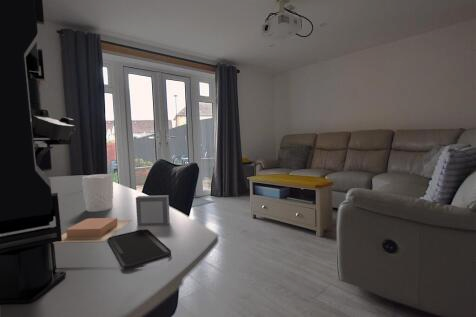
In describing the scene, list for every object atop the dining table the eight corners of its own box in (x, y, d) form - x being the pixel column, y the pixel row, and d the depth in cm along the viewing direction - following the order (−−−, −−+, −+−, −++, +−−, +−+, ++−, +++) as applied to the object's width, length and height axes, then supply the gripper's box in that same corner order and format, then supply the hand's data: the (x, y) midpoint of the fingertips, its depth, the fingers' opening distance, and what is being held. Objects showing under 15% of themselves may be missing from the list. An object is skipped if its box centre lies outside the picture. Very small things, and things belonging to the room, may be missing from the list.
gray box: (167, 226, 57) (166, 196, 56) (137, 227, 57) (135, 197, 56) (169, 224, 58) (168, 195, 58) (140, 225, 58) (138, 196, 58)
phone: (146, 228, 54) (173, 252, 42) (146, 233, 54) (173, 258, 42) (105, 237, 49) (122, 267, 37) (106, 243, 49) (123, 275, 37)
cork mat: (103, 243, 48) (103, 241, 48) (47, 244, 48) (47, 242, 48) (132, 221, 61) (132, 219, 61) (87, 222, 61) (87, 220, 61)
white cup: (120, 206, 76) (118, 173, 75) (103, 213, 68) (101, 177, 67) (96, 206, 77) (94, 174, 76) (77, 213, 69) (74, 178, 68)
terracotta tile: (117, 224, 58) (100, 236, 51) (87, 225, 58) (66, 237, 51) (117, 217, 57) (100, 228, 51) (87, 218, 58) (66, 229, 51)
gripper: (21, 94, 40) (30, 189, 41) (90, 109, 59) (95, 174, 60) (-46, 96, 40) (-36, 191, 41) (44, 110, 59) (49, 175, 60)
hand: (29, 181), depth 51 cm, fingers closed
